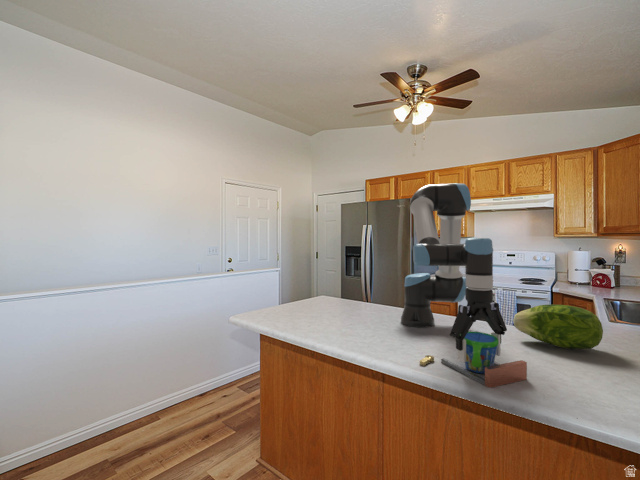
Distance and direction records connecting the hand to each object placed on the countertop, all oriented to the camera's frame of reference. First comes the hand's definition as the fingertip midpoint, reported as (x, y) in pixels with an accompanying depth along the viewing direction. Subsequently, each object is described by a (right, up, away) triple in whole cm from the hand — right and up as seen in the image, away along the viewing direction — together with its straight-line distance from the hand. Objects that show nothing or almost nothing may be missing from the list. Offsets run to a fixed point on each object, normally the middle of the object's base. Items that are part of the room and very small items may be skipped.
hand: (479, 357), depth 96 cm
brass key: (-15, -4, +5) cm, 16 cm away
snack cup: (0, -4, 0) cm, 4 cm away
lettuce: (+38, -3, +20) cm, 44 cm away
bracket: (0, -4, 0) cm, 4 cm away
